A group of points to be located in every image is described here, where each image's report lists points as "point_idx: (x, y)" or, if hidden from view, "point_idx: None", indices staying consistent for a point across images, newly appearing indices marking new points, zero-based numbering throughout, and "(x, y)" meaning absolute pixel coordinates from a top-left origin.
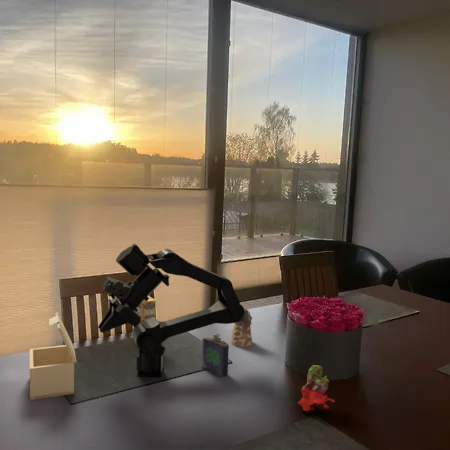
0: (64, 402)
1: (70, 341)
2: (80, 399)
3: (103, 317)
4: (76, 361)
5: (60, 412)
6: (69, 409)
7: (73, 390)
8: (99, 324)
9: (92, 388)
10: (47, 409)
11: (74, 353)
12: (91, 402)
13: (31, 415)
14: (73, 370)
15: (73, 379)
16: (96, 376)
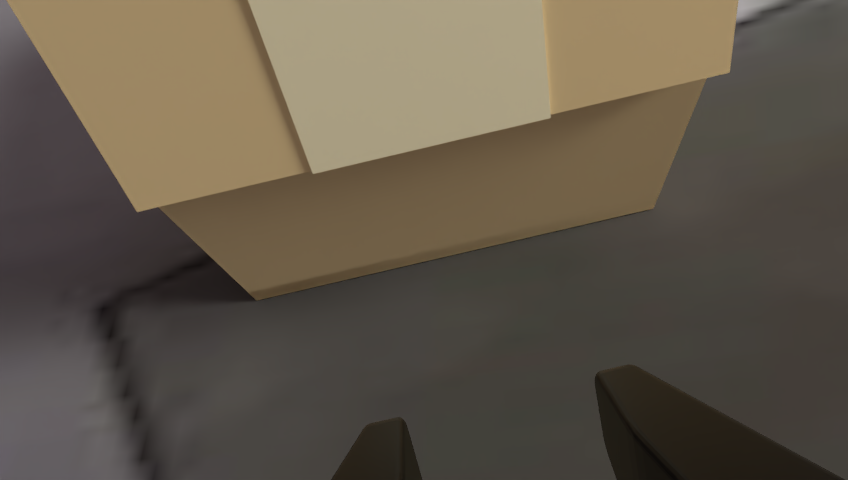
0: (140, 251)
1: (520, 17)
2: (156, 365)
3: (828, 474)
4: (143, 207)
5: (8, 248)
6: (30, 303)
7: (248, 288)
8: (657, 384)
9: (326, 447)
10: (73, 157)
11: (304, 145)
12: (87, 461)
13: (27, 80)
14: (177, 218)
15: (213, 254)
16: (566, 464)
